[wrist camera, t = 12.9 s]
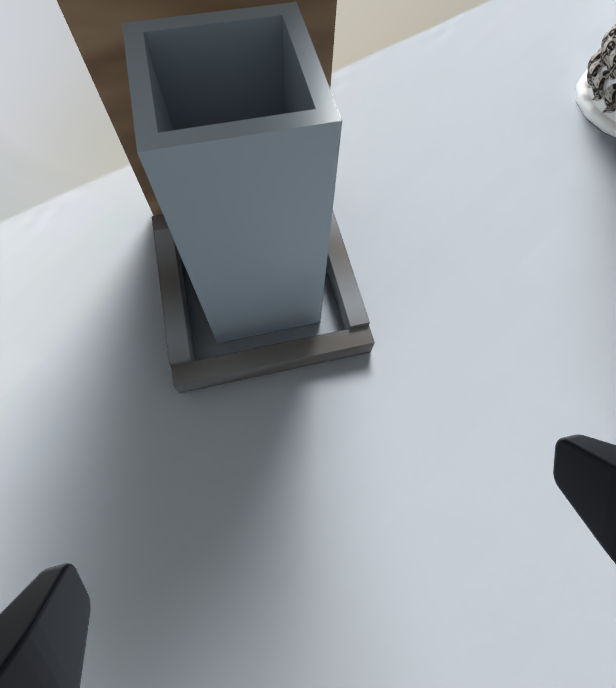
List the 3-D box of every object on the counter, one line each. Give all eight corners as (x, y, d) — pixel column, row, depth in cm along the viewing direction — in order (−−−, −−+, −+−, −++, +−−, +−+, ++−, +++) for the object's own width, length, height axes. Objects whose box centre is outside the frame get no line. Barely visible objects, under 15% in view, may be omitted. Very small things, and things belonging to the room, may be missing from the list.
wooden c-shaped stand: (370, 351, 23) (823, -774, 3) (179, 392, 22) (-946, -963, 2) (316, 180, 28) (364, -710, 8) (156, 207, 26) (-259, -756, 7)
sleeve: (320, 321, 24) (342, 120, 12) (217, 343, 23) (137, 152, 11) (296, 239, 26) (296, 1, 14) (202, 256, 25) (121, 22, 14)
